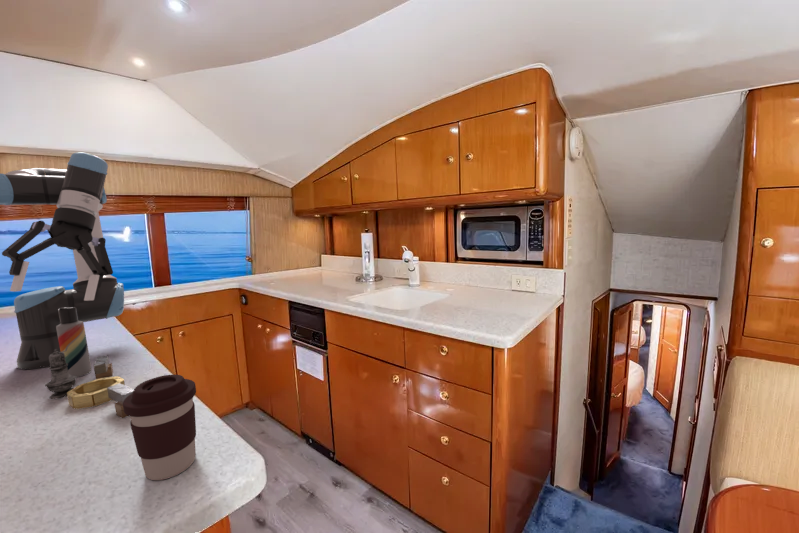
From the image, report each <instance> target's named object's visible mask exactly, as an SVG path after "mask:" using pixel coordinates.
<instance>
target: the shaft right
mask: <svg viewBox="0 0 799 533" xmlns="http://www.w3.org/2000/svg"><path fill="white" fill-rule="evenodd" d="M134 389H135V388H131V387H130V386H127V385H126V384H125V385H123V384H120V383H119V384H116V385H113V386H111V387H108V388H107V391H108V397H109V398H110V399H112V400H111V401H115V403H113V404H114V408H115V414H116V416H117V417H119V418H121V419H125V418H127V417H129V416H128V415H126V414H125V413H124V409H123V401H124V400H125V398H126V397H128V396H129V395H130V394H132V393H133V391H134Z"/></svg>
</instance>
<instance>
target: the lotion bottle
mask: <svg viewBox="0 0 799 533" xmlns="http://www.w3.org/2000/svg"><path fill="white" fill-rule="evenodd" d="M58 314H59V319H60V324H59V325H57V326H56V329H57V335H58V340H59V346H60V351H61V352H63V353H64V355H65V360H66V363H67V364H68V366H67V369H68V373H69V374H70V375H71V376H77V378H80V377H83V376H85V375H88V374H90V373H91V372H92V364H91V359H90V352H89V345H88V341H87V335H86V329H85V324H84V323H85V322H83V321H78V314H77V308H75V307H64V308H59V310H58Z"/></svg>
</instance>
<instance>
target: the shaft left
mask: <svg viewBox="0 0 799 533" xmlns="http://www.w3.org/2000/svg"><path fill="white" fill-rule="evenodd" d="M93 372H94V376H95V377H94V378H95V380H96V379H100V378H106V377H114V376H113V375H114V368H113V363H112V362H110V359H109V355H108V354H107V355H102V356H98V357H96V360H95V361H94V364H93Z"/></svg>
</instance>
